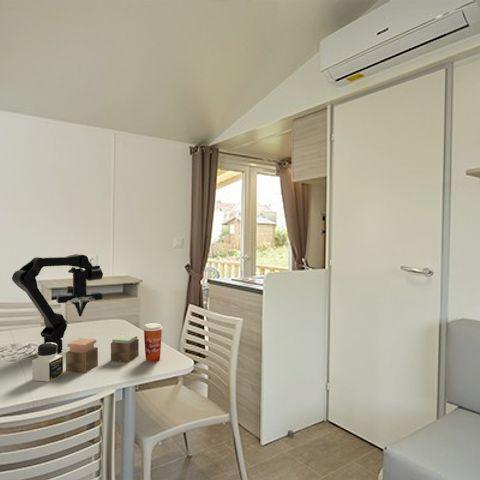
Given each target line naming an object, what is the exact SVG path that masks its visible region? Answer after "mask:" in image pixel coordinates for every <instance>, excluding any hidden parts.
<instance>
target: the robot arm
mask: <svg viewBox="0 0 480 480" xmlns="http://www.w3.org/2000/svg"><path fill="white" fill-rule="evenodd" d="M63 266H65V267H66V266H67V267H71V268H70V269H69V270H68V271H67V272H68V273H70V274H72V286H66V293H67V294H58V295H57V296H56V302H57V303H58V304H64V303H65V304H66V303H67V302H68V301H70V304H72V305H74V307H75V309H76V311H77V314H78V317H82V316H83V312H84V311H85V308H86V306H87V304H88V303H90V299H94V300H95V301H98V300H103V293H102V292H100V291H95V292H93V291H92V292H91V293H90V294H88V293H87V292H88V291H87V290H88V289H87V286H88V285H87V284H88V283H87V282H88V281H89V282H92V281H99V280H102V279H103V277H104V273H103V270H102V268H101V265H97V264H96V265H92V263H91V262H90V260H89V258H88V256H87V255H86V254H78V253H77V254H76V253H75V254H71V255H67V256H59V257H58V256H57V257H55V256H54V257H51V256H49V257H39V256H35V257H33V258H32V259H31V260H30V261H29V262H27V263H26V264H25V265H23V266H22V267H21V268H20V269H18V270H16V271H15V272H14V273H13V274H12V275H11V276H12V277H11V280H12V282H13V283H14V284H15V285H16V286H17V287H18V288H20V289H21V290H22V292H23V291H24V293H26V295H27V296H28V298H29V299H30V300H31V302H32V303H33V305H34V306H35V307H36V309H37V310H38V312H39V313H40V315H41V316H42V319H43V322H44V326H45V327H44V328H43V329H42V330H41V332H40V336H41V338H43V343H56V344H57V354H58V353H59V354H61V353H63V351H62V350H63V339H64V336H65V333H66V331H67V328H68V324H67V323H68V321H67V320H66V319H65V317H64V315H63V314H62V313H56V312H55V311H54V310H53V309H52V307H51V305H50V304H49V303H48V301H47V299H46V298H45V297H44V295H43V294H42V292H41V289H39V288H38V281H37V276H38V275H40V272H41V271H42V269H43V268H44V267H63ZM79 300H80V301H79Z"/></svg>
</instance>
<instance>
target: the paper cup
mask: <svg viewBox="0 0 480 480" xmlns="http://www.w3.org/2000/svg"><path fill="white" fill-rule="evenodd" d="M163 328H164V327H163V325H162V323H156V322H154V323H153V322H152V323H146V324H144V326H143V328H142V329H143V335H144V353H145V361H146V362H148V363H155V362H159V361H160V359H161V352H162V349H161V348H162V332H163V331H162V330H163Z"/></svg>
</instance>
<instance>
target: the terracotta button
mask: <svg viewBox="0 0 480 480" xmlns="http://www.w3.org/2000/svg"><path fill="white" fill-rule="evenodd" d="M95 344H97V339H94V338H83V337H82V338H81V337H79V338H78V339H75V340H72V341H71V342H68V343H67V347H68V348H69V351H70V352H73V353H86V352H88V351H90V350H92V349H94V347H95Z"/></svg>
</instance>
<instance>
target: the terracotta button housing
mask: <svg viewBox="0 0 480 480" xmlns="http://www.w3.org/2000/svg"><path fill="white" fill-rule="evenodd" d="M98 351H99V349H98V347H96V346H94V349H92V350H90V351H88V352H86V353H73V352H70V350H68V351H66V352H65V372H71V373H79V374H80V373H81V374H83V373H84V374H87V373H88V372H89V371H92V370H93V369H94V368H96V367H97V366H98V365H99V360H98V359H99V354H98V353H99V352H98Z"/></svg>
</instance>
